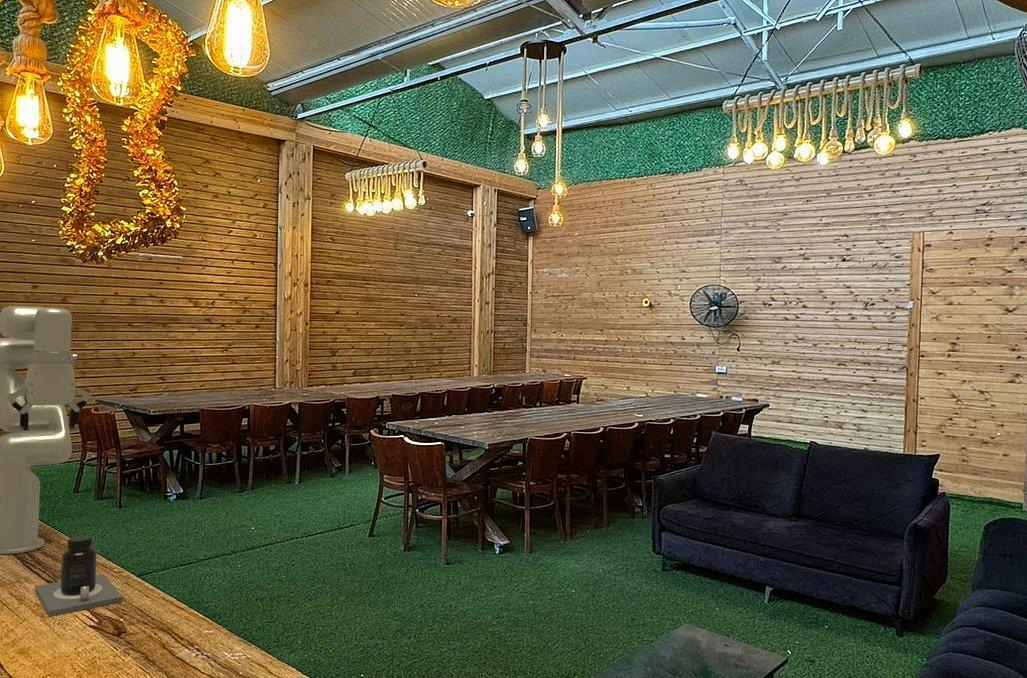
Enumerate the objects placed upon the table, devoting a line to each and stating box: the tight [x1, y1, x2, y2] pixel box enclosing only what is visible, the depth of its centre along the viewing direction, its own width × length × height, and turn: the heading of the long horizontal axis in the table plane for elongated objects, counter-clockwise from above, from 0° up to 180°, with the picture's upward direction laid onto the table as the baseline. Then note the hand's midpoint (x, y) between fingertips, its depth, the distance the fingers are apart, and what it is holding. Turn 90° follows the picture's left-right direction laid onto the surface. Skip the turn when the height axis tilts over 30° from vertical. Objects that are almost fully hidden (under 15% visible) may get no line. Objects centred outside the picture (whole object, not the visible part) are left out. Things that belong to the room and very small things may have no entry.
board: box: [34, 573, 123, 618], centre depth 161 cm, size 18×14×4 cm
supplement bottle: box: [60, 535, 98, 595], centre depth 161 cm, size 7×7×12 cm
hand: (49, 428), depth 172 cm, fingers open, 9 cm apart
